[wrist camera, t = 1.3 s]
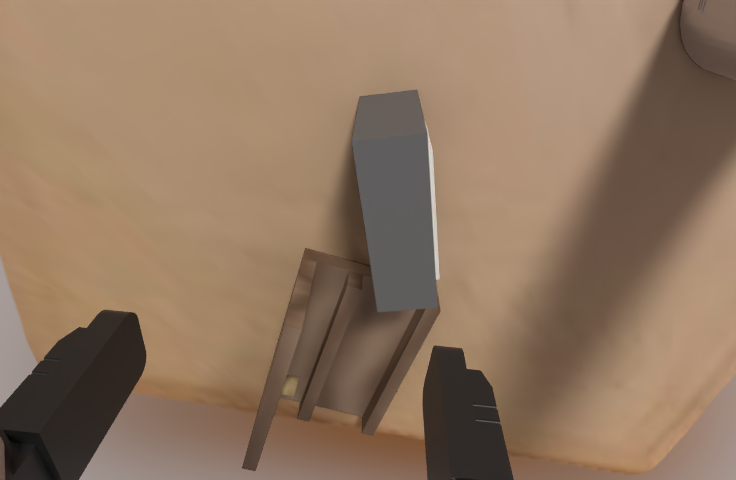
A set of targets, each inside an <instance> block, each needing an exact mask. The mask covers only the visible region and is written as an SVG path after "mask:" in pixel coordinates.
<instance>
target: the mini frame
mask: <svg viewBox="0 0 736 480" xmlns="http://www.w3.org/2000/svg"><path fill="white" fill-rule="evenodd" d="M352 147H353V154H354V160H355V167H356V173H357V180H358V187H359V193H360V200H361V206H362V213H363V219H364V226H365V233H366V239H367V246H368V252H369V259H370V266H371V272H372V279H373V285H374V292H375V298H376V305H377V312H387V311H401V310H414V309H427V308H438V307H437V290H436V280H437V279H439V261H438V242H437V223H436V204H435V185H434V166H433V151H432V146H431V142H430V138H429V134H428V130H427V126H426V122H425V121H424V116H423V112H422V108H421V104H420V100H419V96H418V91H417V90H410V91H402V92H394V93H386V94H377V95H369V96H361V97H360V98H359V103H358V109H357V114H356V120H355V125H354V131H353V136H352Z"/></svg>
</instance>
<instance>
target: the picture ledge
mask: <svg viewBox="0 0 736 480" xmlns="http://www.w3.org/2000/svg"><path fill="white" fill-rule="evenodd" d="M436 290H437V286H436ZM437 307H438V308H427V309H414V310H401V311H387V312H377V305H376V298H375V292H374V285H373V279H372V272H371V266H368V265H364V264H360V263H357V262H353V261H350V260H346V259H343V258H339V257H335V256H332V255H328V254H325V253H321V252H317V251H314V250H310V249H307V248H305V251H304V255H303V258H302V261H301V265H300V268H299V272H298V275H297V278H296V282H295V285H294V289H293V292H292V295H291V299H290V302H289V306H288V309H287V312H286V316H285V319H284V323H283V326H282V329H281V333H280V336H279V340H278V343H277V346H276V350H275V353H274V357H273V360H272V364H271V367H270V370H269V374H268V377H267V381H266V384H265V388H264V391H263V395H262V398H261V402H260V406H259V409H258V413H257V416H256V420H255V424H254V427H253V431H252V434H251V438H250V441H249V445H248V449H247V452H246V456H245V460H244V463H243V466H242V468H243V469H248V470H253V471H255V470H256V468H257V465H258V462H259V459H260V455H261V452H262V449H263V446H264V443H265V440H266V437H267V434H268V431H269V428H270V425H271V422H272V419H273V416H274V413H275V410H276V407H277V404H278V401H279V398H285V399H289V400H293V401H298V402H300V407H299V413H298V418H297V419H300V420H305V421H309V420H310V417H311V415H312V412H313V410H314V407H315V406H319V407H324V408H328V409H332V410H337V411H341V412H346V413H350V414H354V415H359V416H362V433H363V434H367V435H373V434H374V432H375V431H376V429H377V427H378V425H379V423H380V421H381V420H382V418H383V416H384V414H385V412H386V410H387V408H388V407H389V405H390V403H391V401H392V399H393V397H394V396H395V394H396V392H397V390H398V388H399V386H400V385H401V383H402V381H403V379H404V377H405V375H406V373H407V372H408V370H409V368H410V366H411V364H412V362H413V361H414V359H415V357H416V355H417V353H418V351H419V350H420V348H421V346H422V344H423V342H424V340H425V338H426V337H427V335H428V333H429V331H430V329H431V327H432V326H433V324H434V322H435V320H436V318H437V316H438V315H439V313H440V305H439V299H438V292H437Z"/></svg>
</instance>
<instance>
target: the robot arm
mask: <svg viewBox="0 0 736 480" xmlns="http://www.w3.org/2000/svg"><path fill="white" fill-rule="evenodd" d="M680 30H681V39H682V42H683V44H684V47H685V50H686V52H687V53H688V55H689V56H690V57H691V59H692V60H693V61H694V62H695V63H696V64H698V65H699V66H700V67H702V68H703V69H705V70H708V71H710V72H713V73H716V74H718V75H721V76H724V77H727V78H729V79H732V80H735V81H736V0H684V1H683V4H682V10H681V18H680ZM145 363H146V350H145V346H144V341H143V337H142V333H141V329H140V325H139V320H138V317H137V315H136V314H135V313H132V312H122V311H113V310H103V311H101V312H100V313H99V314H98V315H97V316H96V317H95V319H94V320H93V321H92V322H91V323H90V325H89V326H88V327H87V328H81V327H79V328H77V329H76V330H74V331H73V332H71V333H70V334H68V335H67V336H65V337H64V338H62V339H61V340H59V341H58V342H57V343H56V344H55V346H54V347H53V348H52V349H51V350H50V351H49V352H48V354H47V355H46V356H45V357H44V360H43V361H41V362H40V363H39V364H38V365H37V366H36V367H35V369H34V370H33V371H32V374H31V375H28V377H27V378H26V379H25V380H24V381H23V382H22V383H21V385H20V386H19V387H18V388H17V389H16V390H15V391H14V393H13V394H12V395H11V396H10V397H9V398H8V399H7V401H6V402H5V403H4V404H3V405H2V407H0V480H79V478H80V477H81V475H82V473H83V472H84V470H85V468H86V467H87V465H88V463H89V462H90V460H91V458H92V457H93V455H94V453H95V452H96V450H97V448H98V447H99V445H100V443H101V442H102V440H103V438H104V437H105V435H106V433H107V432H108V430H109V428H110V427H111V425H112V423H113V422H114V420H115V418H116V417H117V415H118V413H119V412H120V410H121V408H122V407H123V405H124V403H125V402H126V400H127V398H128V397H129V395H130V394H131V392H132V390H133V389H134V387H135V385H136V384H137V382H138V380H139V379H140V377H141V375H142V373H143V370H144V367H145ZM423 418H424V433H425V447H426V462H427V477H428V480H513V475H512V471H511V467H510V462H509V458H508V454H507V449H506V445H505V441H504V436H503V432H502V428H501V425H500V419H499V415H498V410H497V409H496V402H495V397H494V393H493V389H492V386H491V385H490V383H489V382H488V381H487V379H486V378H485V376H484V375H483V373H482V372H481V371H480V370H471V369H467V368H466V363H465V357H464V352H463V350H462V348H453V347H444V346H434V347H433V350H432V354H431V358H430V362H429V366H428V370H427V374H426V378H425V382H424V388H423Z"/></svg>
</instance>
